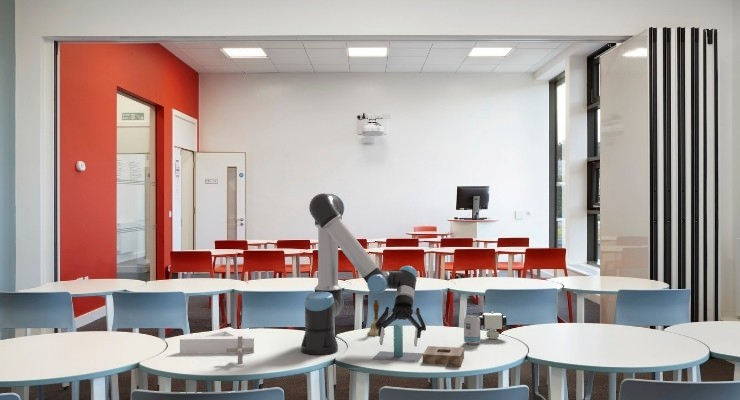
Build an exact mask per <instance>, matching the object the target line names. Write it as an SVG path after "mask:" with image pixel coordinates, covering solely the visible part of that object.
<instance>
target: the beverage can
mask: <svg viewBox="0 0 740 400" xmlns="http://www.w3.org/2000/svg"><path fill="white" fill-rule="evenodd" d="M463 343H466V345H469V346H476V345H478V344H479V343H481V326H480V319H479V315H478V314H465V317H464V318H463Z"/></svg>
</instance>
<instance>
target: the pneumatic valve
mask: <svg viewBox="0 0 740 400" xmlns="http://www.w3.org/2000/svg"><path fill="white" fill-rule="evenodd" d="M478 317H479V319H480V327H481V328H482V329H483V330H487V331H486V335H485V336H486V338H488V339H489V340H498V338H500V332H499V331H497V329H498V330H504V328H505V327H506V326H507V325H508V324H507V323H508V322H507V316H506V315H503V313H502V312H501V313H499V312H494V311H491V312H485V313H484V312H482V313H481V315H478Z"/></svg>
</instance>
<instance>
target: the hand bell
mask: <svg viewBox="0 0 740 400" xmlns="http://www.w3.org/2000/svg"><path fill="white" fill-rule="evenodd" d="M372 309H373V312H374V318H373V319H374V320H373V321H371V322H370V324H371V325H370V328H369V331H367V333H366V334H367V336H371V337H379V335H378V332H379V329H376V326H375V323H376V322H377V321H378V319H379V310H380V303H379V300H378V299H375V300H374V303H373V307H372ZM385 335H386V332H384V336H385Z"/></svg>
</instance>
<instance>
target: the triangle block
mask: <svg viewBox="0 0 740 400" xmlns="http://www.w3.org/2000/svg"><path fill="white" fill-rule="evenodd" d="M238 336H243V345H244V347H254V348H255V339H254V338H253V337H251V336H250V335H247V334H245V333H243V332H241V331H240V330H237V329H235V328H233V327H231V326H228V327H223V328H220V329H215V330H212V331H208V332H207V331H206V332H204V333H201V334H200V333H199V334H195V335H191V336H187V337H183V338H180V339H179V354H236V352H227V347H238ZM248 353H249V354H253V353H255V351H254V352H243V354H248Z"/></svg>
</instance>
